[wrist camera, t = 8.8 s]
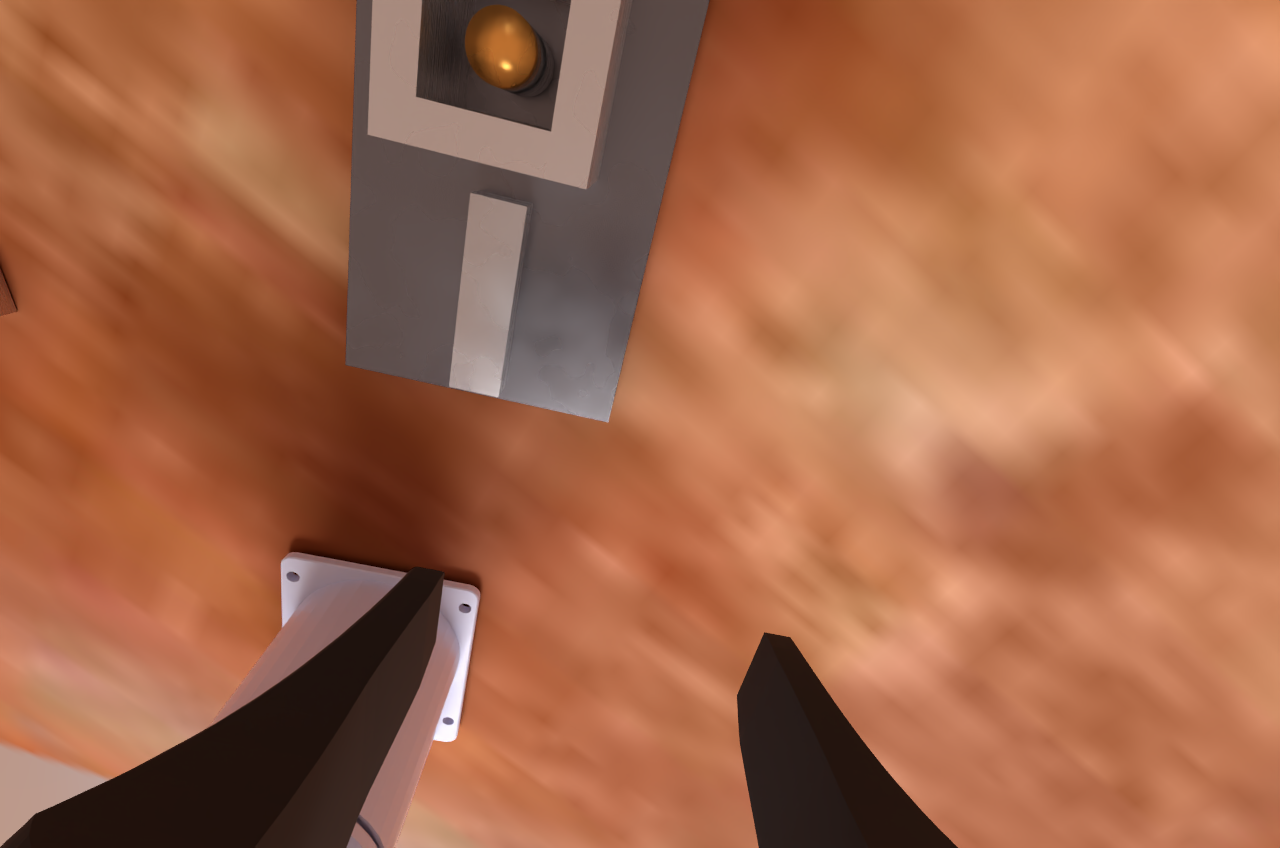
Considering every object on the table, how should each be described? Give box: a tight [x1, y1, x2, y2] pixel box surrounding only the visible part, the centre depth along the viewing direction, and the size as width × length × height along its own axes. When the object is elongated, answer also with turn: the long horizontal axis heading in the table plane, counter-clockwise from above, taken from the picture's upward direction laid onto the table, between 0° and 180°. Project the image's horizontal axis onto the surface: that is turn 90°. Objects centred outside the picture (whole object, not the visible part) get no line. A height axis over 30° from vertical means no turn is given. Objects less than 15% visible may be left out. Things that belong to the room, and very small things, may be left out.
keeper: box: [346, 0, 709, 422], centre depth 17 cm, size 14×9×4 cm, turn 167°
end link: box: [368, 0, 632, 189], centre depth 14 cm, size 5×5×4 cm
